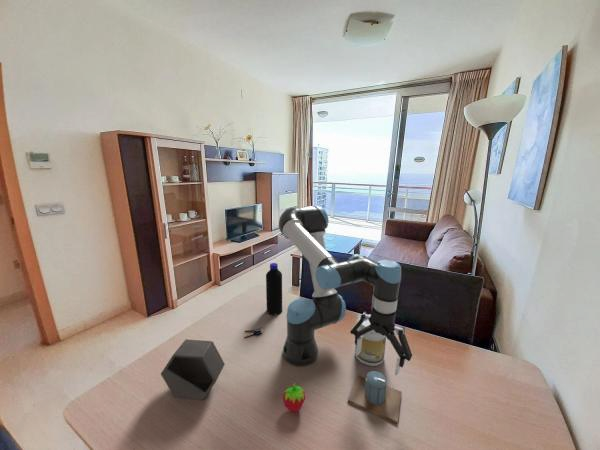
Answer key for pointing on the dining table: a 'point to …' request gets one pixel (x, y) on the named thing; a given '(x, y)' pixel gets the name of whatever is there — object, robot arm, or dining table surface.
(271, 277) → the bottle
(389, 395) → the stud board
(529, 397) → the dining table surface
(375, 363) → the supplement tub
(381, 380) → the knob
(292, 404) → the strawberry
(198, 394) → the planter
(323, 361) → the dining table surface
